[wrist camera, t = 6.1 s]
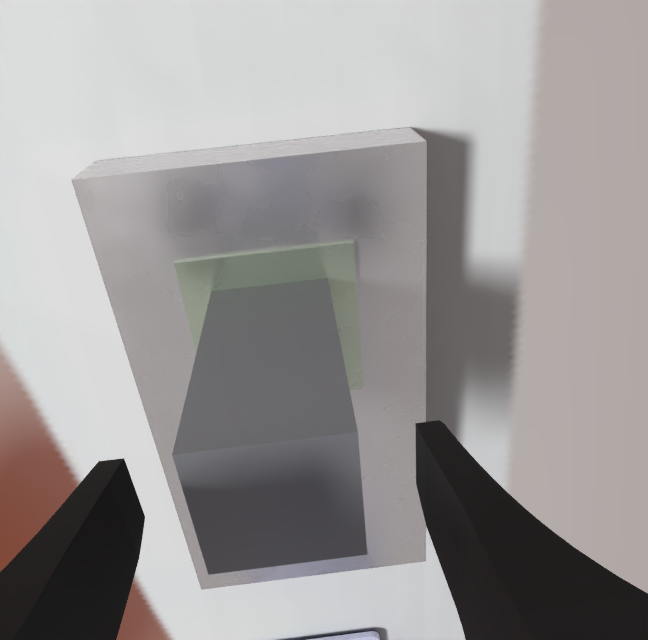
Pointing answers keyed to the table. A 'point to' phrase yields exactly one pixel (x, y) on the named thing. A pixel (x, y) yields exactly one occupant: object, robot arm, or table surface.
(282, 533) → the grey rectangular block
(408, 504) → the plate
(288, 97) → the table surface
